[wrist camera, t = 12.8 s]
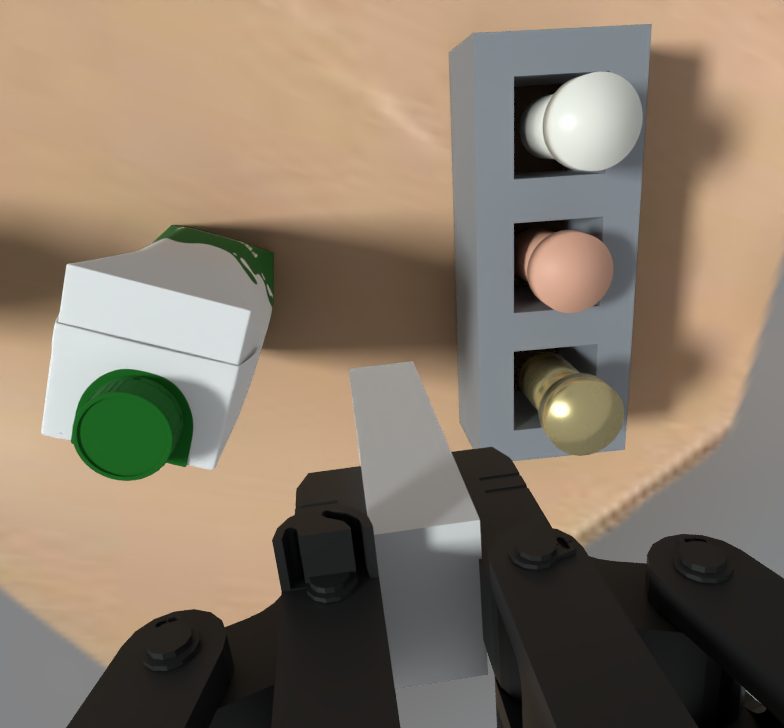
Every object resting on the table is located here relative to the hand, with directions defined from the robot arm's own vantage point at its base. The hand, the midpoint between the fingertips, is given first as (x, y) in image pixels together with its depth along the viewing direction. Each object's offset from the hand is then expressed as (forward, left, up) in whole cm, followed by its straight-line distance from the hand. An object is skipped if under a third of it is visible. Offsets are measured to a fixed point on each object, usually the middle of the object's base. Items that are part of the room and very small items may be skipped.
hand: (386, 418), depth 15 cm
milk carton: (+2, -9, -31) cm, 32 cm away
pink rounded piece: (+1, +13, -28) cm, 31 cm away
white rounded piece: (-7, +13, -26) cm, 30 cm away
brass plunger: (+9, +13, -26) cm, 30 cm away
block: (+1, +13, -31) cm, 33 cm away
